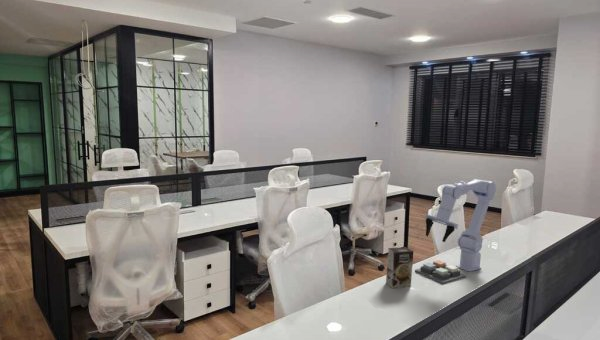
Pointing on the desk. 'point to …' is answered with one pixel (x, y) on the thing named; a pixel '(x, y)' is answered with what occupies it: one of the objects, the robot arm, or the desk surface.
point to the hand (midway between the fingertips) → (434, 238)
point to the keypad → (438, 277)
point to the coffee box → (399, 267)
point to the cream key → (451, 268)
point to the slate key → (429, 266)
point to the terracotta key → (439, 263)
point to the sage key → (441, 271)
